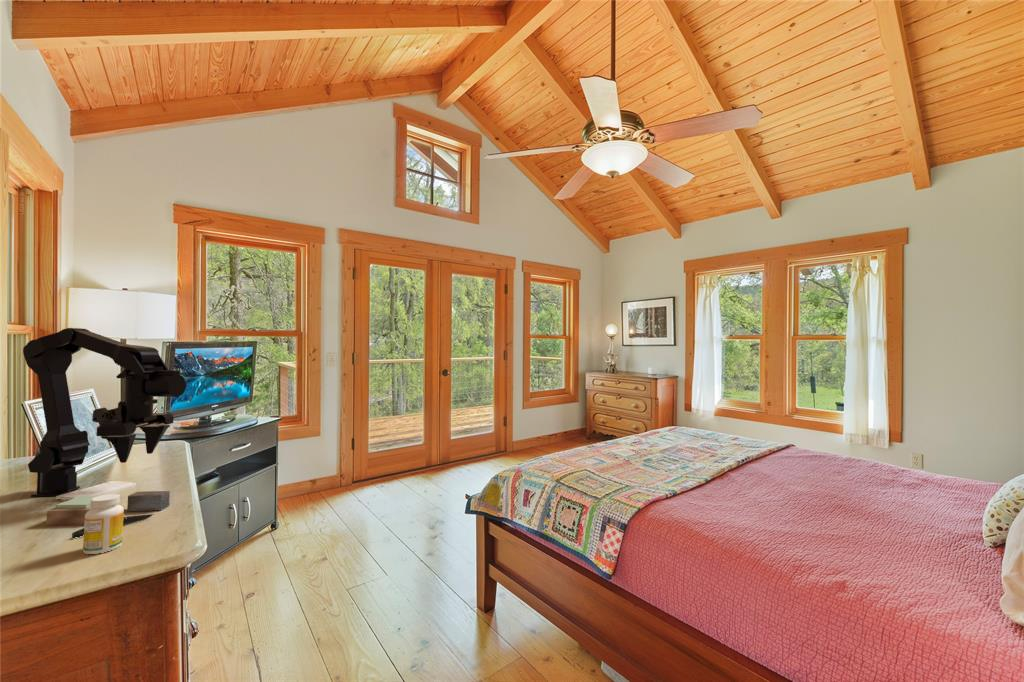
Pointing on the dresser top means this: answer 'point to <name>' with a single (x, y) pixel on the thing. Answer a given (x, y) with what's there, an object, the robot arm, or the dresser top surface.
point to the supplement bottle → (103, 524)
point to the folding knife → (125, 521)
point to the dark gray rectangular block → (148, 500)
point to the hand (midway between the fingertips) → (137, 457)
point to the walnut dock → (66, 516)
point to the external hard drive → (98, 490)
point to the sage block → (76, 503)
